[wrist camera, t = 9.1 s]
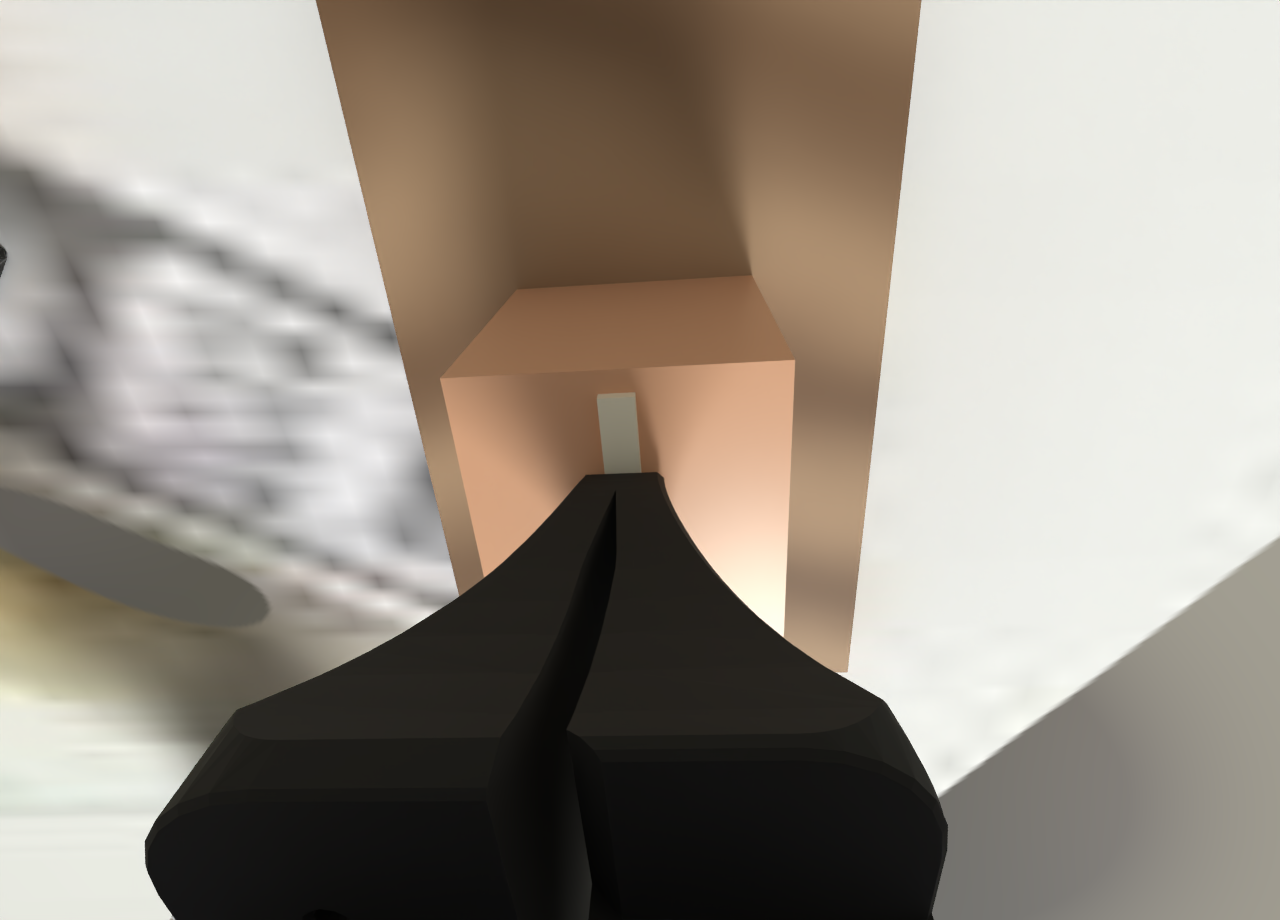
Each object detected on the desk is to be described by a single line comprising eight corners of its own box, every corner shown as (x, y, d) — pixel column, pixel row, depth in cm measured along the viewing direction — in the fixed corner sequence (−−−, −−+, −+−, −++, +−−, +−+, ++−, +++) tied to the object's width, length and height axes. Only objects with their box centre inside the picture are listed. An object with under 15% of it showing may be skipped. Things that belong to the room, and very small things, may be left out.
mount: (836, 639, 22) (883, 784, 18) (490, 646, 23) (442, 787, 18) (910, -120, 13) (1050, -254, 8) (330, -66, 14) (150, -161, 9)
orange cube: (516, 289, 16) (436, 382, 10) (751, 275, 15) (797, 364, 10) (547, 490, 18) (496, 651, 13) (750, 482, 18) (784, 643, 13)
